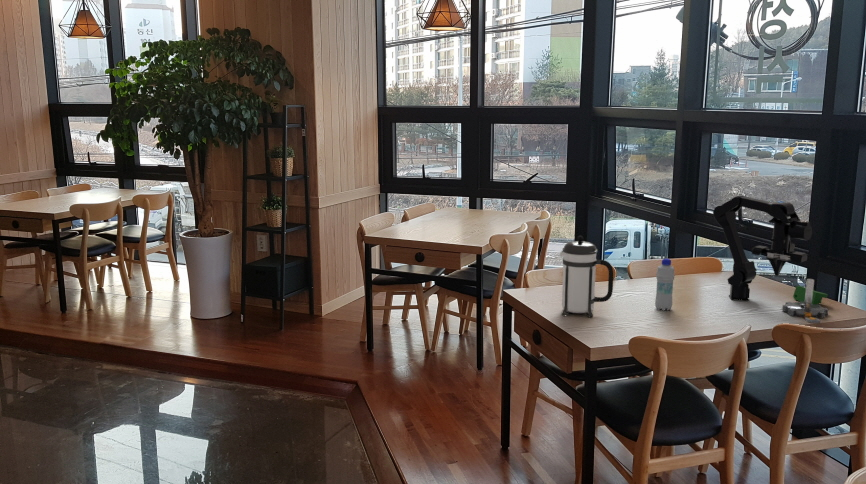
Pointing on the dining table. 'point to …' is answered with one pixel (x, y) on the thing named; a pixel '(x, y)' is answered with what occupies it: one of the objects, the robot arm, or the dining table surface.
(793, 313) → the sprocket
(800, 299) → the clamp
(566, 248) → the coffee press
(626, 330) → the dining table surface
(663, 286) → the bottle
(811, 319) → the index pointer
